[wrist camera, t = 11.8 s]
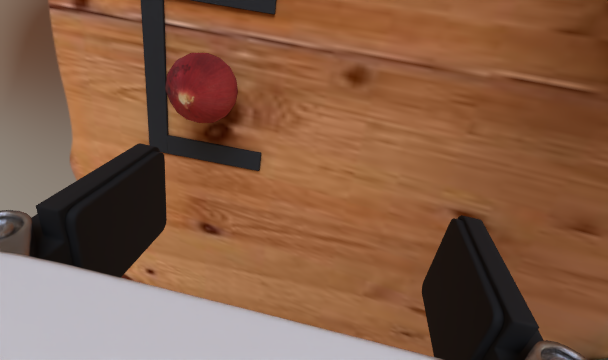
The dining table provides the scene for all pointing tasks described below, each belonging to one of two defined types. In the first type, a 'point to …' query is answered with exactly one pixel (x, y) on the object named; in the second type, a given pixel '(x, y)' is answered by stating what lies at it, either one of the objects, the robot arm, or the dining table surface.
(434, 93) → the dining table surface
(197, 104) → the onion
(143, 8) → the bay
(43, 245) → the robot arm
